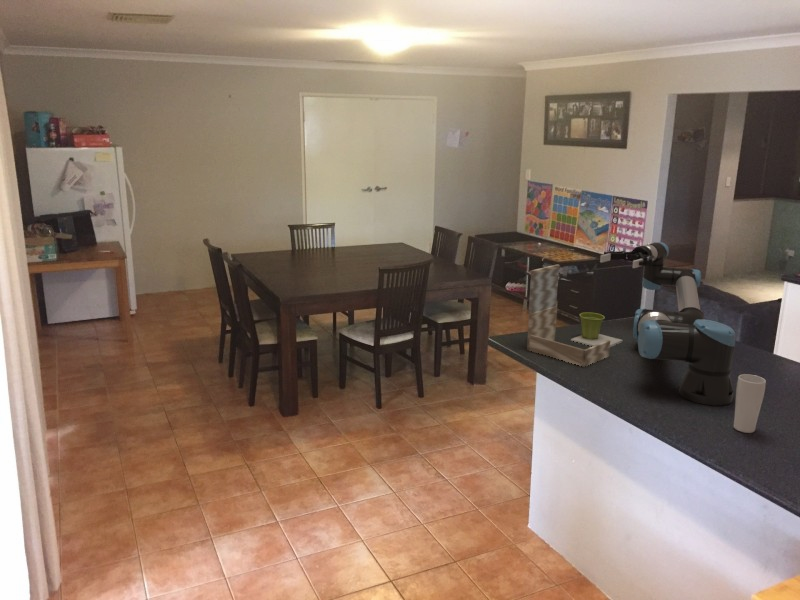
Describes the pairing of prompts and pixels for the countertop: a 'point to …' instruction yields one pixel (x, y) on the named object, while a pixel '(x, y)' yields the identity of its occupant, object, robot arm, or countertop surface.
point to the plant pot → (591, 324)
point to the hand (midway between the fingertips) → (617, 261)
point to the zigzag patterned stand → (554, 322)
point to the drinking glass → (748, 402)
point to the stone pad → (597, 340)
